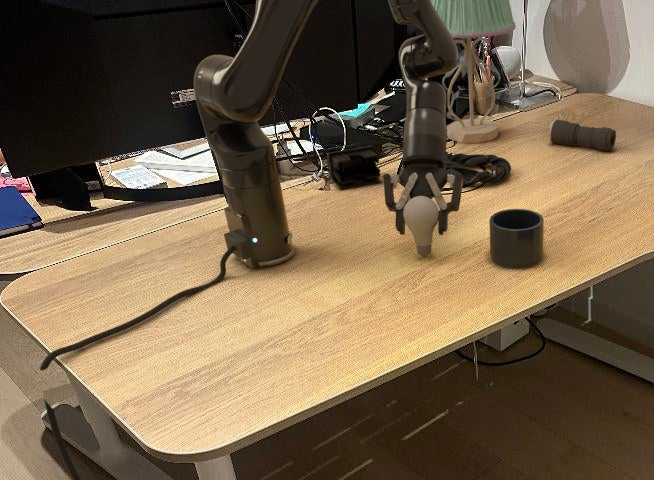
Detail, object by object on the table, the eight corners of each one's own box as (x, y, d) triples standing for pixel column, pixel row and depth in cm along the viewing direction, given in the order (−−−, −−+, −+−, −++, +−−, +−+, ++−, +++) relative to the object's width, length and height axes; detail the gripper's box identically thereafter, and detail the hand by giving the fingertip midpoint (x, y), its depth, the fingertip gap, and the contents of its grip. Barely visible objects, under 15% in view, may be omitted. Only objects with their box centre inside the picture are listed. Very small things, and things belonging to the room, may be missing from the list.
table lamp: (497, 118, 199) (494, -56, 175) (529, 142, 182) (531, -47, 159) (419, 128, 193) (405, -51, 169) (444, 154, 176) (433, -40, 153)
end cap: (373, 172, 167) (369, 141, 163) (383, 182, 162) (379, 151, 158) (329, 179, 164) (324, 149, 160) (338, 190, 159) (333, 159, 155)
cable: (425, 170, 167) (424, 151, 165) (477, 157, 174) (476, 138, 171) (468, 193, 156) (468, 173, 154) (522, 178, 163) (522, 158, 160)
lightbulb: (442, 248, 135) (438, 189, 128) (441, 263, 130) (437, 203, 124) (408, 249, 135) (402, 191, 128) (406, 265, 130) (400, 204, 123)
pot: (517, 273, 126) (517, 235, 122) (479, 257, 132) (478, 220, 128) (553, 255, 132) (554, 218, 128) (515, 240, 137) (515, 204, 133)
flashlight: (617, 148, 178) (618, 125, 174) (608, 155, 174) (610, 131, 171) (557, 139, 183) (558, 116, 180) (548, 145, 180) (549, 122, 176)
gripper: (379, 131, 127) (375, 225, 125) (463, 131, 127) (461, 225, 124) (388, 152, 135) (384, 241, 132) (467, 151, 134) (465, 241, 131)
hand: (421, 233), depth 128 cm, fingers closed on lightbulb, 6 cm apart
